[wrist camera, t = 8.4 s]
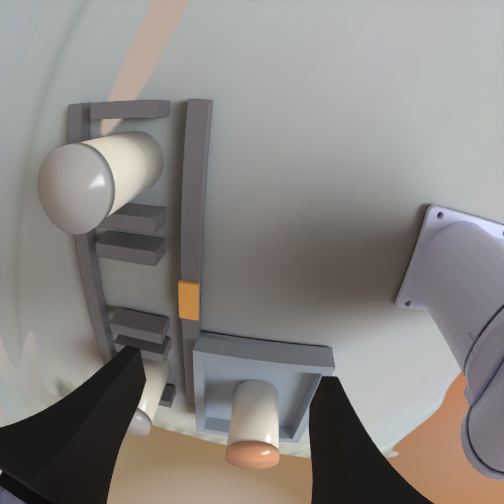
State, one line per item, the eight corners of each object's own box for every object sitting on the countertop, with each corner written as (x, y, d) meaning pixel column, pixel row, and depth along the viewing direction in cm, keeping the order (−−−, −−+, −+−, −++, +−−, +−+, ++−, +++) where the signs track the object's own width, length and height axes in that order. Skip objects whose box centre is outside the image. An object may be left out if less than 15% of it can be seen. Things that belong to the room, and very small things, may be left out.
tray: (331, 347, 23) (335, 367, 21) (298, 426, 28) (298, 442, 26) (199, 331, 23) (192, 350, 21) (200, 414, 29) (196, 430, 27)
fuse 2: (169, 352, 24) (144, 416, 18) (173, 381, 26) (152, 440, 20) (127, 342, 25) (96, 401, 18) (134, 371, 26) (108, 426, 20)
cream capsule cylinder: (165, 130, 16) (105, 144, 10) (163, 194, 18) (109, 239, 12) (108, 130, 17) (35, 147, 10) (108, 190, 18) (43, 229, 12)
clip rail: (214, 100, 15) (206, 99, 14) (201, 398, 27) (198, 413, 25) (77, 104, 16) (59, 105, 14) (113, 377, 27) (106, 390, 25)
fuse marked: (275, 377, 24) (275, 448, 18) (281, 403, 26) (282, 467, 19) (228, 381, 24) (218, 449, 18) (238, 406, 26) (232, 469, 20)
